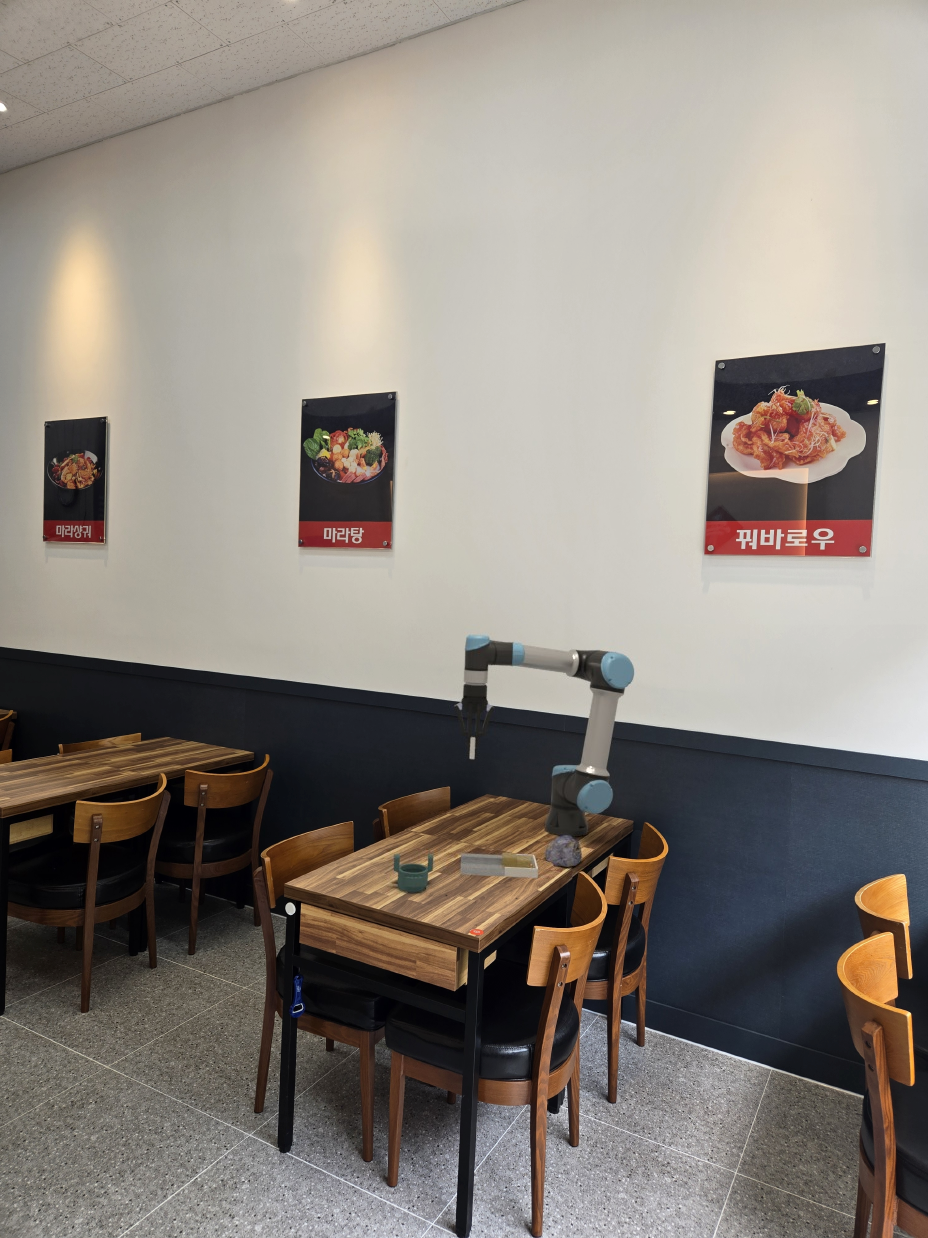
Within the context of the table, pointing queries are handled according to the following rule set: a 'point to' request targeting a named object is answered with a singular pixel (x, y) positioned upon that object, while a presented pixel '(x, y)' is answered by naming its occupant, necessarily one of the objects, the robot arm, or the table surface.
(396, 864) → the teal round pot
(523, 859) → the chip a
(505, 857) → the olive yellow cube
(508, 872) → the tray
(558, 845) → the rock
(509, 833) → the table surface
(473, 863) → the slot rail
